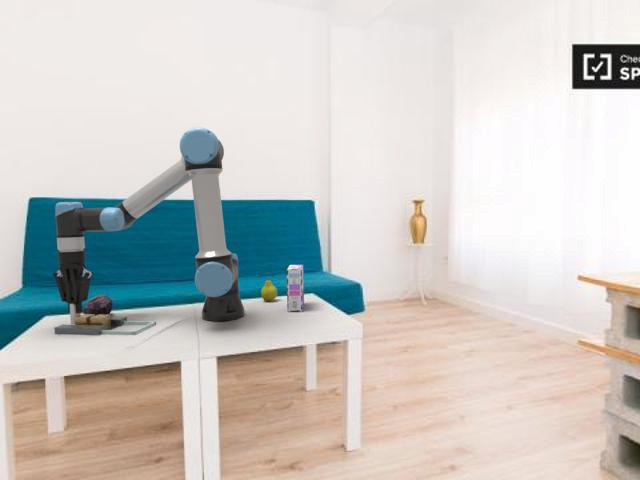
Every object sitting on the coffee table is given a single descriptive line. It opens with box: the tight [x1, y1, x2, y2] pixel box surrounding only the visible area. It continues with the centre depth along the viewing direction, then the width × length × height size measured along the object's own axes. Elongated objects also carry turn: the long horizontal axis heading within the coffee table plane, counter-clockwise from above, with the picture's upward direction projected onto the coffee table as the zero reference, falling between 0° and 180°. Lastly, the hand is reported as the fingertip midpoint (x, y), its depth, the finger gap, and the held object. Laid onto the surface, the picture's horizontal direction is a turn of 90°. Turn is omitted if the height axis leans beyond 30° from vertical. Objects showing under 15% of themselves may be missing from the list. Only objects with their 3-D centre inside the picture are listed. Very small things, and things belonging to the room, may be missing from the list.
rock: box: [82, 294, 114, 316], centre depth 149 cm, size 12×9×10 cm
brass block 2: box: [90, 314, 111, 329], centre depth 132 cm, size 4×4×4 cm
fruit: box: [260, 273, 278, 302], centre depth 176 cm, size 7×7×12 cm
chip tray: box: [101, 320, 157, 336], centre depth 131 cm, size 11×12×2 cm
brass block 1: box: [74, 313, 95, 325], centre depth 133 cm, size 4×4×4 cm
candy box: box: [286, 264, 305, 313], centre depth 162 cm, size 14×6×16 cm, turn 179°
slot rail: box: [54, 316, 128, 336], centre depth 133 cm, size 15×14×4 cm
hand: (76, 323), depth 134 cm, fingers closed
